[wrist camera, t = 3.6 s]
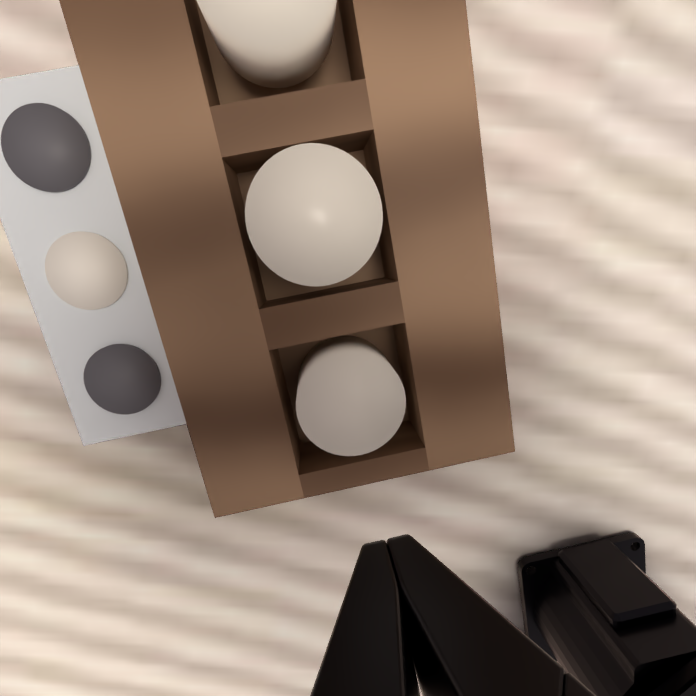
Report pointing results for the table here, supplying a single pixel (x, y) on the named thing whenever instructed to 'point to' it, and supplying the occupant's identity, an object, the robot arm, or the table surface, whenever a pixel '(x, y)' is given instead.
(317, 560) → the table surface
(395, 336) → the button board
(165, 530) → the table surface
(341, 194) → the button middle
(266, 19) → the button
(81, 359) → the card
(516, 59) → the table surface
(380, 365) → the button
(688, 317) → the table surface
